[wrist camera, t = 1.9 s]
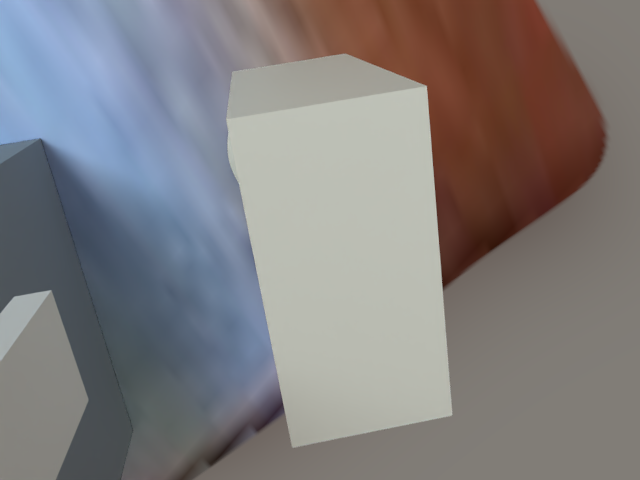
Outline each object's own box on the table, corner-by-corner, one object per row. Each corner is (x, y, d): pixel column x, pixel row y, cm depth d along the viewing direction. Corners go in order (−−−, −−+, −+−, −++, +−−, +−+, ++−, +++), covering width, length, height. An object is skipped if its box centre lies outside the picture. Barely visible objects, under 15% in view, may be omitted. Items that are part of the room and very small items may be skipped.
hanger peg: (245, 231, 29) (251, 455, 15) (211, 62, 27) (174, 128, 12) (366, 210, 30) (491, 407, 15) (345, 41, 27) (475, 77, 12)
